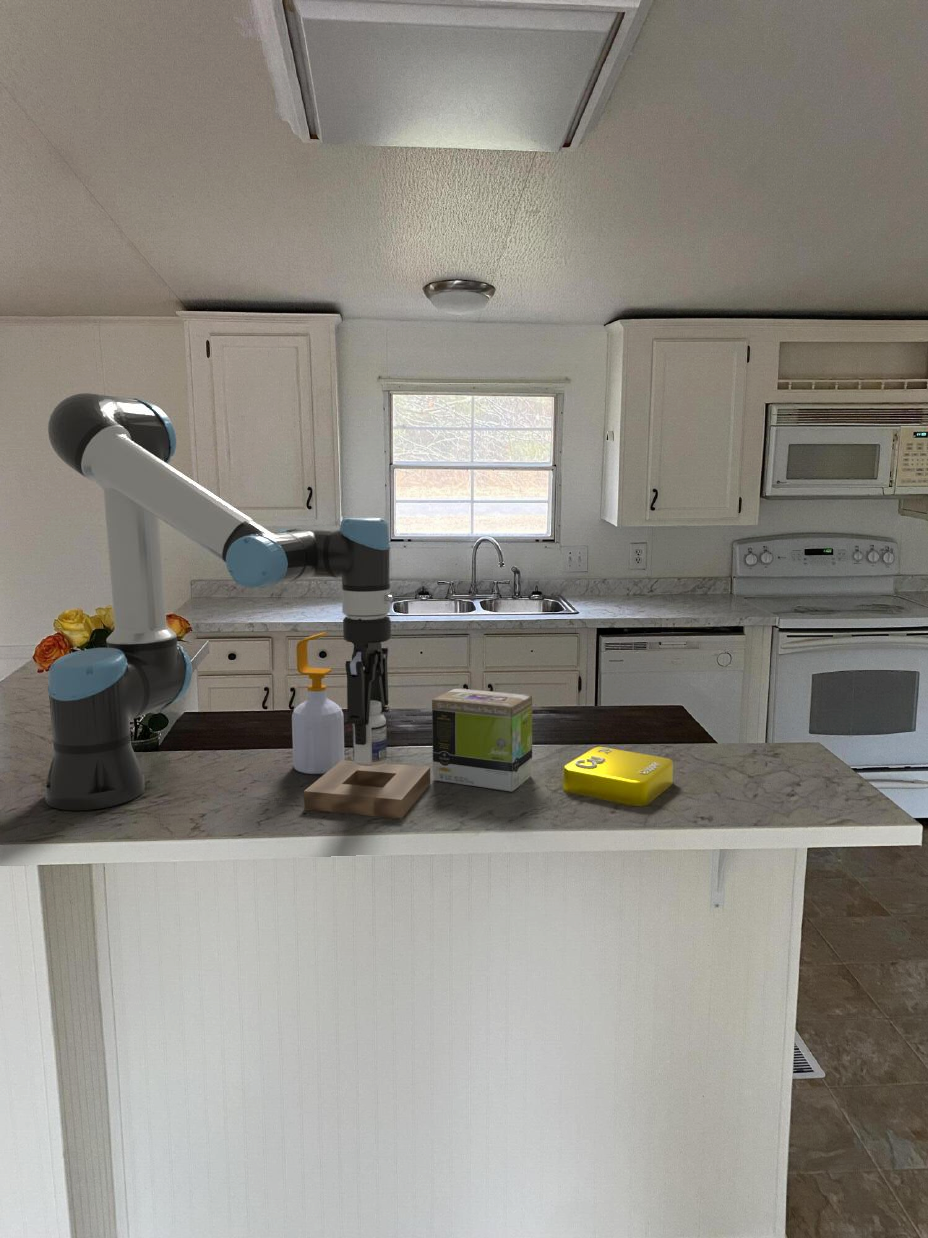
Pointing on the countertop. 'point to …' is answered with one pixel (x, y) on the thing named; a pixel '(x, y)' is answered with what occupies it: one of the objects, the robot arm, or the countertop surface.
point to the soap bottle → (316, 722)
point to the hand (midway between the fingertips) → (369, 756)
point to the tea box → (482, 738)
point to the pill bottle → (376, 734)
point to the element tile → (618, 776)
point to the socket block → (368, 789)
